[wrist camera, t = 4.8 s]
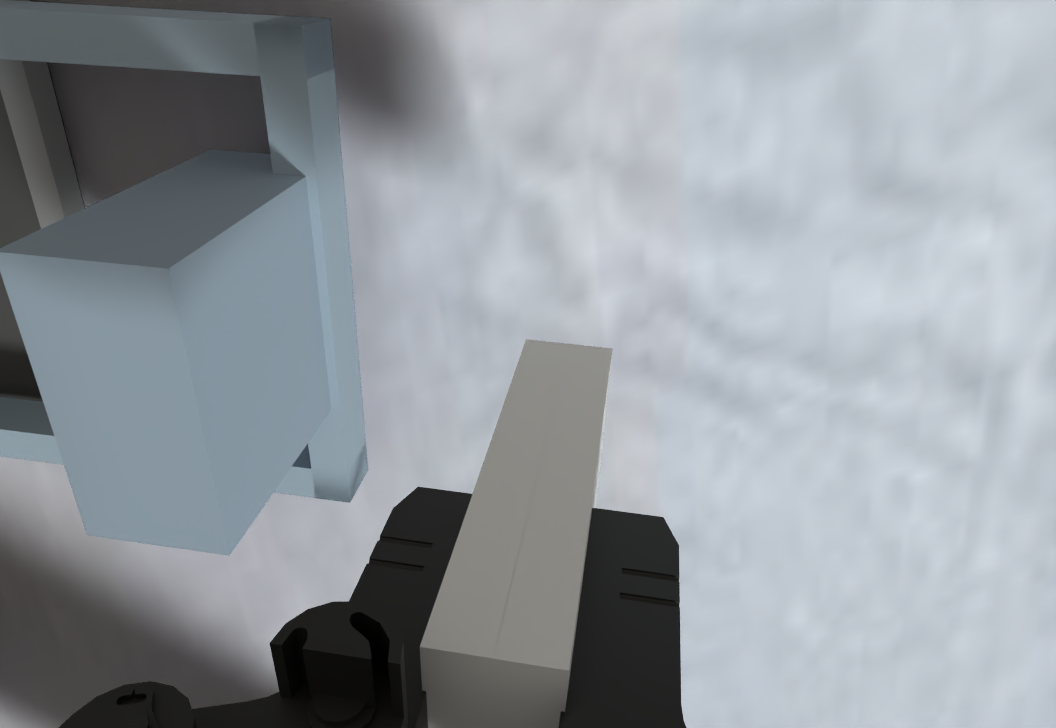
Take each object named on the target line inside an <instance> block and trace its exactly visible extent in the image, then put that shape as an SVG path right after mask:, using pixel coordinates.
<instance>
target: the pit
mask: <svg viewBox="0 0 1056 728" xmlns="http://www.w3.org/2000/svg"><path fill="white" fill-rule="evenodd" d="M12 1H30V2H31V0H12ZM83 209H85V208H84V204H83V200H82V196H81V192H80V188H79V184H78V181H77V177H76V173H75V169H74V165H73V161H72V157H71V154H70V150H69V146H68V142H67V138H66V134H65V130H64V127H63V123H62V119H61V115H60V111H59V107H58V104H57V100H56V96H55V92H54V88H53V84H52V80H51V77H50V73H49V69H48V65H47V62H38V61H23V60H8V59H0V248H2V247H4V246H6V245H8V244H11V243H13V242H15V241H17V240H19V239H21V238H23V237H25V236H28V235H30V234H32V233H34V232H36V231H38V230H40V229H42V228H45V227H47V226H49V225H51V224H53V223H55V222H57V221H59V220H62V219H64V218H66V217H68V216H70V215H72V214H74V213H76V212H79V211H81V210H83ZM0 397H6V398H15V399H23V400H31V401H39V402H43V400H42V397H41V394H40V391H39V388H38V385H37V382H36V379H35V376H34V373H33V369H32V366H31V363H30V360H29V357H28V354H27V351H26V348H25V345H24V342H23V339H22V336H21V333H20V330H19V327H18V324H17V321H16V318H15V315H14V312H13V309H12V306H11V303H10V300H9V297H8V294H7V291H6V288H5V285H4V282H3V279H2V276H1V273H0Z"/></svg>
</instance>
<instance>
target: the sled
mask: <svg viewBox="0 0 1056 728" xmlns="http://www.w3.org/2000/svg"><path fill="white" fill-rule="evenodd" d="M0 59H8V60H23V61H38V62H53V63H68V64H83V65H98V66H113V67H128V68H143V69H158V70H173V71H188V72H203V73H218V74H233V75H248V76H260V79H261V87H262V95H263V102H264V110H265V118H266V125H267V133H268V141H269V148H270V154H263V153H251V152H238V151H225V150H212V149H210V150H208V151H206V152H204V153H202V154H200V155H198V156H195V157H193V158H191V159H189V160H187V161H185V162H183V163H181V164H178V165H176V166H174V167H172V168H170V169H168V170H166V171H164V172H161V173H159V174H157V175H155V176H153V177H151V178H149V179H147V180H144V181H142V182H140V183H138V184H136V185H134V186H132V187H130V188H127V189H125V190H123V191H121V192H119V193H117V194H115V195H113V196H110V197H108V198H106V199H104V200H102V201H100V202H98V203H96V204H93V205H91V206H89V207H87V208H85V209H83V210H81V211H79V212H76V213H74V214H72V215H70V216H68V217H66V218H64V219H62V220H59V221H57V222H55V223H53V224H51V225H49V226H47V227H45V228H42V229H40V230H38V231H36V232H34V233H32V234H30V235H28V236H25V237H23V238H21V239H19V240H17V241H15V242H13V243H11V244H8V245H6V246H4V247H2V248H0V273H1V276H2V279H3V282H4V285H5V288H6V291H7V294H8V297H9V300H10V303H11V306H12V309H13V312H14V315H15V318H16V321H17V324H18V327H19V330H20V333H21V336H22V339H23V342H24V345H25V348H26V351H27V354H28V357H29V360H30V363H31V366H32V369H33V373H34V376H35V379H36V382H37V385H38V388H39V391H40V394H41V397H42V400H43V402H39V401H31V400H23V399H15V398H6V397H0V456H1V457H8V458H16V459H24V460H31V461H39V462H46V463H54V464H61V465H64V466H65V469H66V472H67V475H68V478H69V481H70V484H71V488H72V491H73V494H74V497H75V500H76V503H77V506H78V509H79V512H80V515H81V518H82V521H83V524H84V527H85V530H86V533H87V535H89V536H96V537H103V538H110V539H117V540H124V541H131V542H138V543H145V544H152V545H159V546H166V547H173V548H180V549H187V550H194V551H201V552H208V553H215V554H222V555H230V554H231V553H232V551H233V550H234V548H235V547H236V545H237V544H238V542H239V541H240V540H241V538H242V537H243V535H244V534H245V532H246V531H247V530H248V528H249V527H250V525H251V524H252V522H253V521H254V520H255V518H256V517H257V515H258V514H259V512H260V511H261V510H262V508H263V507H264V505H265V504H266V502H267V501H268V500H269V498H270V497H271V495H272V494H273V492H274V493H281V494H289V495H296V496H304V497H312V498H319V499H327V500H334V501H342V502H351V500H352V498H353V496H354V494H355V493H356V491H357V489H358V487H359V485H360V484H361V482H362V480H363V478H364V476H365V474H366V473H367V471H368V461H367V449H366V437H365V425H364V413H363V402H362V390H361V378H360V366H359V354H358V342H357V330H356V319H355V307H354V295H353V283H352V271H351V259H350V247H349V236H348V224H347V212H346V200H345V188H344V176H343V164H342V152H341V141H340V129H339V117H338V105H337V93H336V81H335V69H334V58H333V46H332V34H331V22H330V19H329V18H311V17H294V16H276V15H258V14H241V13H223V12H206V11H188V10H170V9H153V8H135V7H118V6H100V5H83V4H65V3H47V2H30V1H12V0H0Z"/></svg>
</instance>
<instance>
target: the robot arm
mask: <svg viewBox="0 0 1056 728" xmlns="http://www.w3.org/2000/svg"><path fill="white" fill-rule="evenodd" d="M611 358H612V349H611V348H602V347H592V346H583V345H574V344H564V343H555V342H546V341H537V340H527V339H526V341H525V344H524V347H523V350H522V353H521V356H520V359H519V362H518V365H517V367H516V370H515V373H514V376H513V379H512V382H511V385H510V388H509V391H508V393H507V396H506V399H505V402H504V405H503V408H502V411H501V414H500V417H499V419H498V422H497V425H496V428H495V431H494V434H493V437H492V440H491V442H490V445H489V448H488V451H487V454H486V457H485V460H484V463H483V466H482V468H481V471H480V474H479V477H478V480H477V483H476V486H475V489H474V492H473V494H468V493H461V492H453V491H446V490H438V489H431V488H423V487H417V488H416V489H415V490H414V491H413V492H412V493H410V494H409V495H408V496H407V497H406V498H405V499H403V500H402V501H401V502H400V503H399V504H398V505H397V506H395V507H394V508H393V510H392V512H391V514H390V516H389V518H388V520H387V522H386V525H385V527H384V529H383V531H382V533H381V535H380V540H379V541H377V544H376V546H375V548H374V550H373V552H372V554H371V556H370V560H369V564H367V565H366V567H365V569H364V571H363V573H362V575H361V577H360V579H359V582H358V584H357V586H356V588H355V590H354V592H353V594H352V596H351V598H350V601H349V602H331V603H327V604H324V605H321V606H317V607H314V608H311V609H308V610H306V611H305V612H303V613H301V614H300V615H298V616H297V617H295V618H294V619H292V620H291V621H289V622H287V623H286V624H285V625H284V626H283V628H282V629H281V630H280V631H279V632H278V634H277V635H276V636H275V637H274V639H273V640H272V641H271V642H270V647H271V652H272V657H273V662H274V667H275V671H276V676H277V681H278V686H279V691H280V692H278V693H275V694H273V695H271V696H269V697H265V698H261V699H257V700H252V701H248V702H241V703H234V704H227V705H219V706H212V707H205V708H198V709H191V706H190V702H189V699H188V698H187V697H185V696H184V695H183V694H182V693H181V692H179V691H178V690H177V689H176V688H175V687H173V686H170V685H165V684H160V683H156V682H143V683H136V684H128V685H123V686H121V687H119V688H116V689H114V690H111V691H109V692H107V693H104V694H102V695H100V696H97V697H96V698H94V699H93V700H92V701H90V702H89V703H88V704H86V705H85V706H84V707H82V708H81V709H80V710H78V711H77V712H76V713H74V714H73V715H72V716H71V717H70V718H69V719H67V720H66V721H65V722H64V723H63V724H62V725H61V726H60V727H59V728H686V726H685V723H684V720H683V714H682V707H681V668H680V608H679V602H680V597H679V545H678V543H677V541H676V539H675V538H674V536H673V534H672V532H671V530H670V529H669V527H668V525H667V523H666V521H665V519H664V518H663V517H657V516H650V515H642V514H635V513H627V512H620V511H612V510H605V509H597V508H595V505H596V497H597V490H598V482H599V474H600V464H601V455H602V445H603V435H604V426H605V416H606V407H607V397H608V387H609V378H610V368H611Z"/></svg>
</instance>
